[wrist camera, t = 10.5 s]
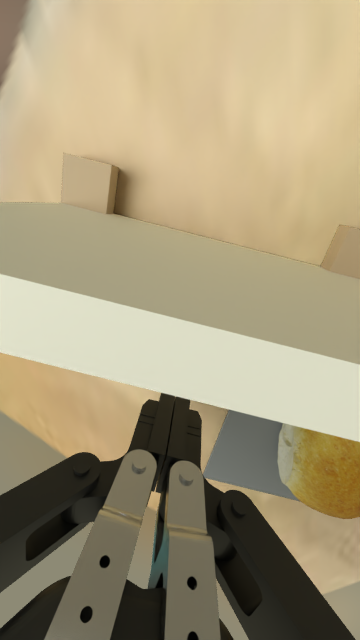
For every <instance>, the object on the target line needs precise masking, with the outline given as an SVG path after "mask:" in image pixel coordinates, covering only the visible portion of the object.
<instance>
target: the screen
mask: <svg viewBox="0 0 360 640" xmlns="http://www.w3.org/2000/svg"><path fill="white" fill-rule="evenodd" d="M118 172H119V168H118V167H115V166H113V165H110V164H106V163H102V162H98V161H94V160H90V159H86V158H82V157H79V156H75V155H71V154H67V153H63V169H62V190H61V203H39V202H0V353H4V354H8V355H12V356H16V357H20V358H24V359H29V360H33V361H37V362H41V363H45V364H49V365H53V366H57V367H61V368H65V369H69V370H73V371H77V372H81V373H85V374H89V375H93V376H97V377H101V378H105V379H109V380H113V381H117V382H121V383H125V384H129V385H133V386H137V387H141V388H145V389H149V390H153V391H157V392H161V393H165V394H169V395H173V396H177V397H181V398H185V399H189V400H193V401H197V402H201V403H205V404H209V405H213V406H217V407H221V408H225V409H229V410H233V411H237V412H241V413H245V414H249V415H253V416H257V417H261V418H265V419H269V420H273V421H277V422H281V423H285V424H289V425H293V426H297V427H301V428H305V429H309V430H313V431H317V432H321V433H325V434H329V435H333V436H337V437H341V438H345V439H349V440H353V441H358V442H360V229H358V228H354V227H350V226H343V225H339V227H338V229H337V231H336V233H335V236H334V238H333V240H332V242H331V244H330V247H329V249H328V251H327V253H326V255H325V258H324V260H323V262H322V264H321V267H320V266H317V265H313V264H309V263H305V262H301V261H297V260H293V259H289V258H285V257H281V256H277V255H274V254H270V253H266V252H262V251H258V250H254V249H250V248H246V247H242V246H238V245H234V244H231V243H227V242H223V241H219V240H215V239H211V238H207V237H203V236H199V235H195V234H191V233H188V232H184V231H180V230H176V229H172V228H168V227H164V226H160V225H156V224H152V223H149V222H145V221H141V220H137V219H133V218H129V217H125V216H121V215H117V214H113V213H114V204H115V196H116V188H117V180H118Z"/></svg>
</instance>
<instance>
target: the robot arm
mask: <svg viewBox="0 0 360 640" xmlns="http://www.w3.org/2000/svg"><path fill="white" fill-rule="evenodd" d="M189 406H190V400H189V399H185V398H181V397H177V396H176V397H175V396H173V395H169V394H165V393H161V396H160V400H159V402H158V401H154V400H150V399H149V400H148V401H147V402H146V403H145V404H144V405H143V406H142V409H141V412H140V416H139V419H138V422H137V425H136V428H135V431H134V435H133V438H132V441H131V444H130V447H129V450H128V451H127V453H126V454H125V455H124V456H123V457H121V458H119V459H117V460H114V461H104V462H100V460H99V459H98V458H97V457H96V456H95V455H93V454H91V453H87V452H82V453H77V454H75V455H73V456H71V457H69V458H67V459H65V460H64V461H62V462H60V463H58V464H56V465H55V466H53V467H51V468H49V469H47V470H46V471H44V472H42V473H40V474H38V475H37V476H35V477H33V478H31V479H30V480H28V481H26V482H24V483H22V484H20V485H19V486H17V487H15V488H13V489H11V490H9V491H8V492H6V493H4V494H2V495H0V593H1V592H2V591H3V590H4V589H6V588H7V587H8V586H9V585H11V584H12V583H13V582H15V581H16V580H17V579H18V578H20V577H21V576H22V575H24V574H25V573H26V572H27V571H29V570H30V569H31V568H32V567H34V566H35V565H36V564H38V563H39V562H40V561H41V560H43V559H44V558H45V557H47V556H48V555H49V554H51V553H52V552H53V551H54V550H56V549H57V548H58V547H59V546H61V545H62V544H63V543H64V542H66V541H67V540H68V539H70V538H71V537H72V536H74V535H75V534H76V533H77V532H79V531H80V530H81V529H83V528H84V527H85V526H86V525H87V524H88V523H89V522H94V521H95V522H94V524H93V526H92V529H91V531H90V533H89V536H88V538H87V540H86V543H85V545H84V547H83V550H82V552H81V555H80V557H79V559H78V562H77V564H76V566H75V569H74V571H73V573H72V576H69V577H66V578H63V579H61V580H59V581H57V582H55V583H53V584H52V585H50V586H49V587H47V588H46V589H44V590H43V591H41V592H40V593H39V594H38V595H37V596H36V597H35V598H34V599H32V600H31V601H30V602H29V603H28V604H27V605H26V606H25V607H24V608H23V609H21V610H20V611H19V612H18V613H17V614H16V615H15V616H14V617H13V618H11V619H10V620H9V621H8V622H7V623H6V624H5V625H4V626H3V627H2V628H0V640H233V638H232V636H231V634H230V633H229V631H228V629H227V628H226V626H225V625H224V624H223V622H222V621H221V620H220V618H219V612H218V600H217V587H216V579H217V581H218V583H219V584H220V586H221V588H222V590H223V592H224V594H225V596H226V597H227V599H228V601H229V603H230V605H231V606H232V609H233V610H234V612H235V614H236V616H237V618H238V620H239V622H240V623H241V625H242V627H243V629H244V631H245V633H246V635H247V637H248V638H249V640H355V638H354V637H353V636H352V634H351V633H350V632H349V630H348V629H347V628H346V626H345V625H344V624H343V622H342V621H341V620H340V618H339V617H338V616H337V614H336V613H335V612H334V610H333V609H332V608H331V606H330V605H329V604H328V602H327V601H326V600H325V599H324V597H323V596H322V594H321V593H320V592H319V590H318V589H317V588H316V586H315V585H314V584H313V582H312V581H311V580H310V578H309V577H308V576H307V574H306V573H305V572H304V570H303V569H302V568H301V566H300V565H299V564H298V562H297V561H296V560H295V558H294V557H293V556H292V554H291V553H290V552H289V550H288V549H287V548H286V546H285V545H284V544H283V542H282V541H281V540H280V538H279V537H278V536H277V534H276V533H275V532H274V530H273V529H272V528H271V526H270V525H269V524H268V522H267V521H266V520H265V518H264V517H263V516H262V514H261V513H260V512H259V510H258V509H257V508H256V506H255V505H254V504H253V502H252V501H251V500H250V499H249V497H247V496H246V495H245V494H244V493H242V492H240V491H237V490H229V491H227V492H225V493H223V492H222V491H220V490H218V489H217V488H215V487H213V486H212V485H211V484H210V483H208V481H207V480H206V479H205V478H204V476H203V474H202V471H201V466H200V462H201V424H202V420H201V418H200V415H199V413H198V411H194V410H190V409H189ZM156 484H157V487H156ZM155 487H156V492H158V493H161V496H160V502H159V506H158V509H157V513H156V523H155V533H154V544H153V555H152V565H151V572H150V578H149V582H148V589H142V588H140V587H138V586H137V585H135V584H133V583H132V582H130V581H129V580H127V575H128V571H129V567H130V564H131V561H132V557H133V553H134V550H135V546H136V542H137V538H138V535H139V531H140V528H141V523H142V520H143V516H144V512H145V509H146V507H147V504H148V501H149V498H150V494H151V491H154V490H155Z"/></svg>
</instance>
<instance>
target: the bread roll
mask: <svg viewBox="0 0 360 640" xmlns="http://www.w3.org/2000/svg"><path fill="white" fill-rule="evenodd" d="M277 462H278V467H279V475H280V478H281V481H282V483H283V484H285V485H286V486H287V487H288V488H289V489H290V490H291V492H292V493H293V494H294V495H295V496H296V497H297V499H298V500H300V501H301V502H302V503H304V504H305V505H307V506H309V507H311V508H312V509H315V510H317V511H319V512H321V513H324V514H327V515H330V516H333V517H338V518H342V519H352V518H356V517H360V442H358V441H353V440H349V439H345V438H341V437H337V436H333V435H329V434H325V433H321V432H317V431H313V430H309V429H305V428H301V427H297V426H293V425H289V424H285V423H283V425H282V429H281V431H280V434H279V443H278V460H277Z"/></svg>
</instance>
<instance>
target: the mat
mask: <svg viewBox="0 0 360 640" xmlns="http://www.w3.org/2000/svg"><path fill="white" fill-rule="evenodd" d="M282 425H283V423H281V422H277V421H273V420H269V419H265V418H261V417H257V416H253V415H249V414H245V413H241V412H237V411H233V410H229V411H228V414H227V416H226V418H225V421H224V423H223V426H222V428H221V431H220V433H219V436H218V438H217V441H216V443H215V446H214V448H213V451H212V453H211V456H210V458H209V461H208V463H207V466H206V468H205V471H204V473H203V476H204V478H208V479H212V480H216V481H220V482H224V483H228V484H232V485H236V486H240V487H244V488H248V489H252V490H256V491H260V492H264V493H268V494H273V495H277V496H281V497H285V498H289V499H293V500H297V501H300V500H298V499H297V497H296V496H295V495H294V494H293V493H292V492H291V490H290V489H289V488H288V487H287V486H286V485H285V484H283V483H282V481H281V478H280V475H279V467H278V462H277V460H278V443H279V434H280V431H281V429H282Z"/></svg>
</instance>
